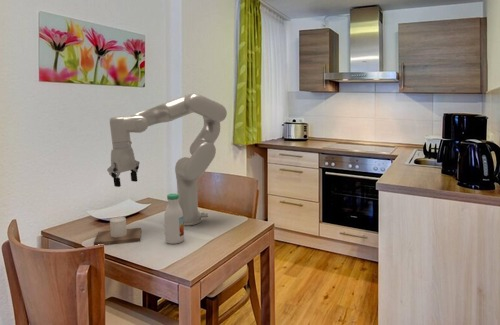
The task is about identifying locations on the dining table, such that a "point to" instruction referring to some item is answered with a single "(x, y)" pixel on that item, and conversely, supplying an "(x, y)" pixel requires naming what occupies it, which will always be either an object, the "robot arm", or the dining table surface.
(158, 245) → the dining table surface
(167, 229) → the milk bottle
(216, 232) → the dining table surface
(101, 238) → the post base
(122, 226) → the pale grey short cylinder
